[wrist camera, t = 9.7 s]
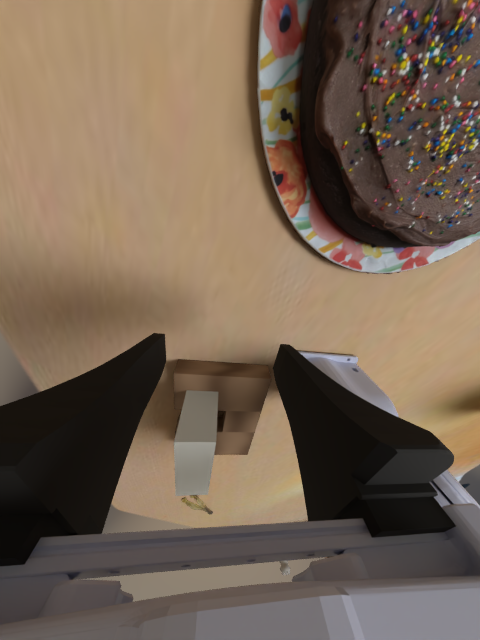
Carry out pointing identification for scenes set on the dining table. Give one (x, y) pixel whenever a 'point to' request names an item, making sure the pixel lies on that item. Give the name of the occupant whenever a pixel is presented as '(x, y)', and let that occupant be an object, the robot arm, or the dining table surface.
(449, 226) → the chocolate cake
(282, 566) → the rook chess piece
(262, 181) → the dining table surface
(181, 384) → the notched shelf
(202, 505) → the tongs
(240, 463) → the dining table surface
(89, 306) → the dining table surface
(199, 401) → the grey rubber bar
